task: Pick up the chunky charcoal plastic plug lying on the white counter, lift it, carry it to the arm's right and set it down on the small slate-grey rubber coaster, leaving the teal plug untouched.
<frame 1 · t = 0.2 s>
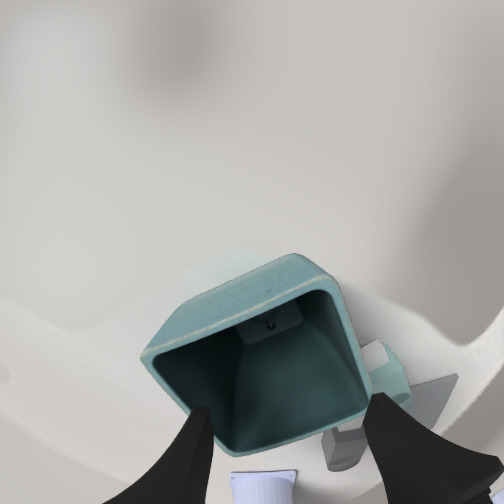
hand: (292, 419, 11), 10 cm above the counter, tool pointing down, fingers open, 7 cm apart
charcoal plug: (340, 427, 24), on the counter
flower pot: (262, 305, 20), on the counter
teal plug: (375, 368, 22), on the counter
coaster: (413, 411, 24), on the counter
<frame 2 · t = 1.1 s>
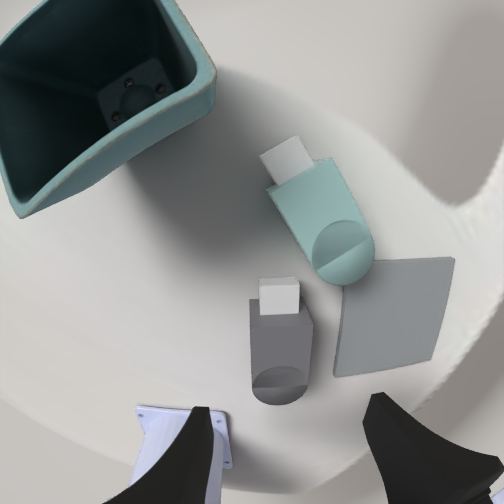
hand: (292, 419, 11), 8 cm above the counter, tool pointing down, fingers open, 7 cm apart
charcoal plug: (275, 327, 19), on the counter
flower pot: (142, 104, 15), on the counter
teal plug: (309, 206, 17), on the counter
coaster: (395, 317, 19), on the counter
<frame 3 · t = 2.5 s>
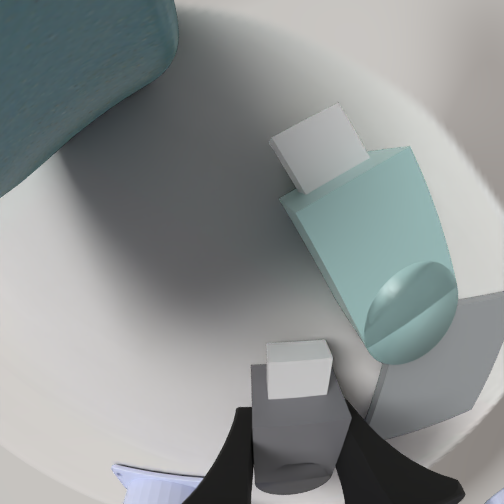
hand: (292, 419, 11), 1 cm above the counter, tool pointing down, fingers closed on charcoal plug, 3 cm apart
charcoal plug: (288, 398, 12), on the counter, touching gripper
flower pot: (88, 72, 8), on the counter
teal plug: (348, 227, 10), on the counter
coaster: (443, 370, 12), on the counter
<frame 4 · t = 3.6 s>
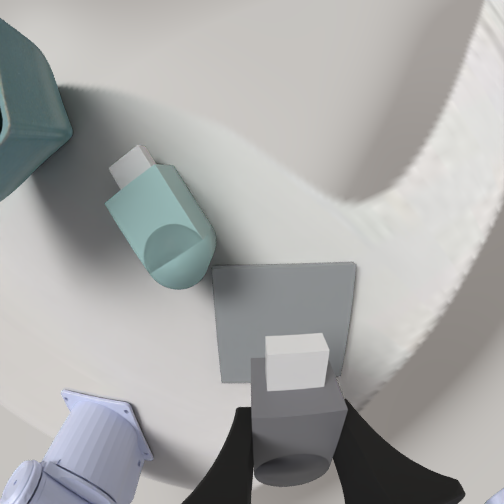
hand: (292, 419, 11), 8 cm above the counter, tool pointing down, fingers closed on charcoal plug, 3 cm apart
charcoal plug: (287, 390, 13), point 7 cm above the counter, touching gripper
flower pot: (44, 129, 15), on the counter
teal plug: (169, 211, 17), on the counter
coaster: (283, 326, 19), on the counter
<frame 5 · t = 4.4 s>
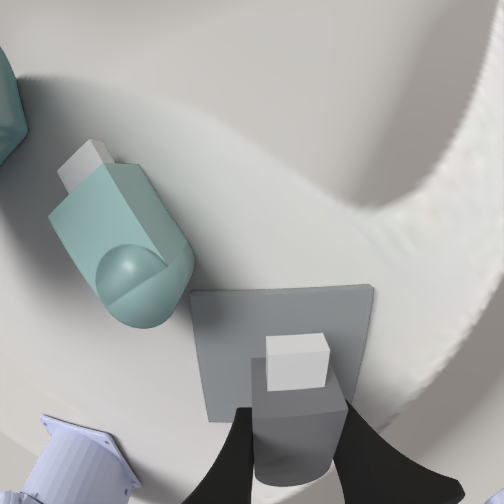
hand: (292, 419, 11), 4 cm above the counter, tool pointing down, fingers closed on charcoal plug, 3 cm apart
charcoal plug: (287, 390, 13), point 2 cm above the counter, touching gripper
flower pot: (2, 128, 11), on the counter
teal plug: (135, 222, 13), on the counter
coaster: (281, 362, 15), on the counter
when the fingers open (3 cm above the counter, at t = 5.0 s): charcoal plug stays where it is, resting on coaster.
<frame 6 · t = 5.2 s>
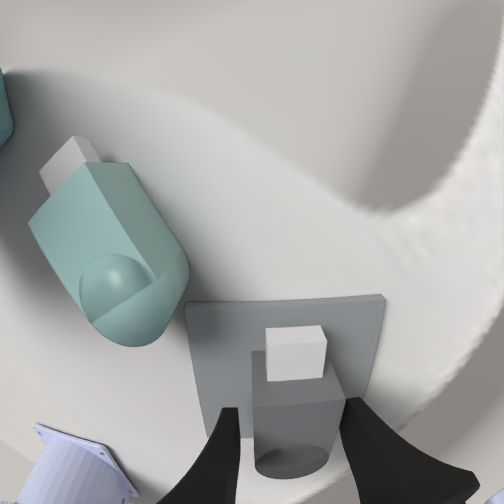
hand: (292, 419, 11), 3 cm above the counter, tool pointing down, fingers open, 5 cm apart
charcoal plug: (286, 384, 13), point 1 cm above the counter, touching coaster
teal plug: (125, 227, 12), on the counter
coaster: (285, 377, 14), on the counter
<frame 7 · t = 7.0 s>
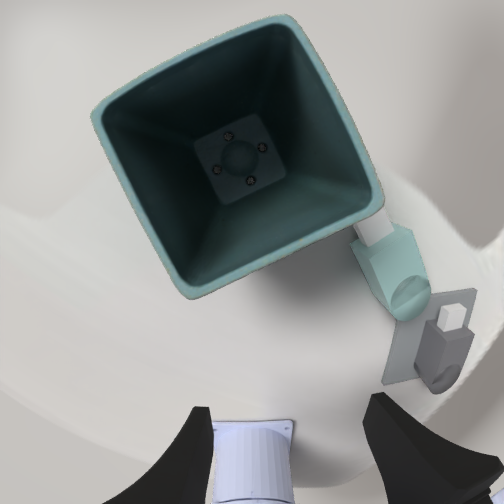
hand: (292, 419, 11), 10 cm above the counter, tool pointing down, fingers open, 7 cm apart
charcoal plug: (434, 339, 21), point 1 cm above the counter, touching coaster
flower pot: (241, 159, 18), on the counter
teal plug: (379, 257, 20), on the counter
coaster: (430, 336, 22), on the counter
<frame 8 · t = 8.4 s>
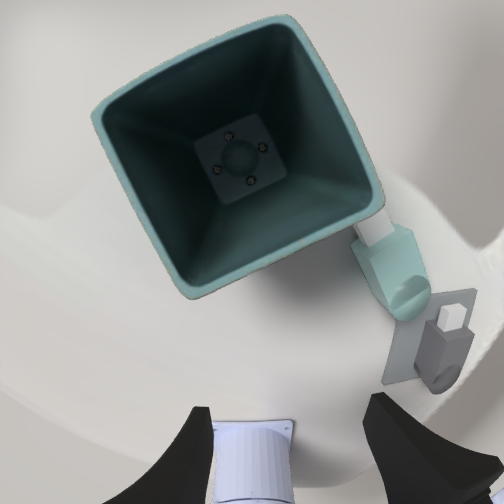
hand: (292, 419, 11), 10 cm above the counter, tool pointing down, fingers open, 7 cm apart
charcoal plug: (434, 339, 21), point 1 cm above the counter, touching coaster
flower pot: (241, 159, 18), on the counter
teal plug: (380, 257, 20), on the counter
coaster: (430, 336, 22), on the counter
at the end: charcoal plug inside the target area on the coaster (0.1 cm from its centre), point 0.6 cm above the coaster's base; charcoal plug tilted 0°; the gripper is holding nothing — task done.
